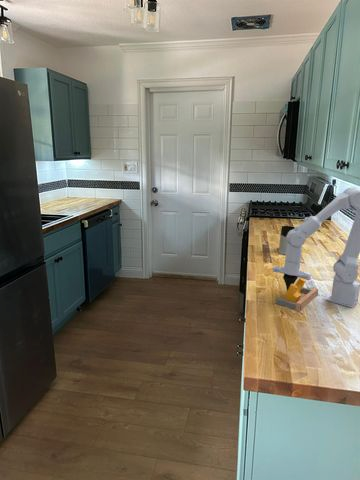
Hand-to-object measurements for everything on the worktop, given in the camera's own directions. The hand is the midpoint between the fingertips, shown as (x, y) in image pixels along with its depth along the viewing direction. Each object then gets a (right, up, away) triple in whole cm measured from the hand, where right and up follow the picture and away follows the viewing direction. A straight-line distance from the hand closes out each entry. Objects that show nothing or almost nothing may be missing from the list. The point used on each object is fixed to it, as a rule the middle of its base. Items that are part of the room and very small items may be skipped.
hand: (288, 292), depth 136 cm
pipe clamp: (+2, -2, -1) cm, 3 cm away
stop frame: (+3, -3, -2) cm, 4 cm away
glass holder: (+19, +13, +58) cm, 62 cm away
